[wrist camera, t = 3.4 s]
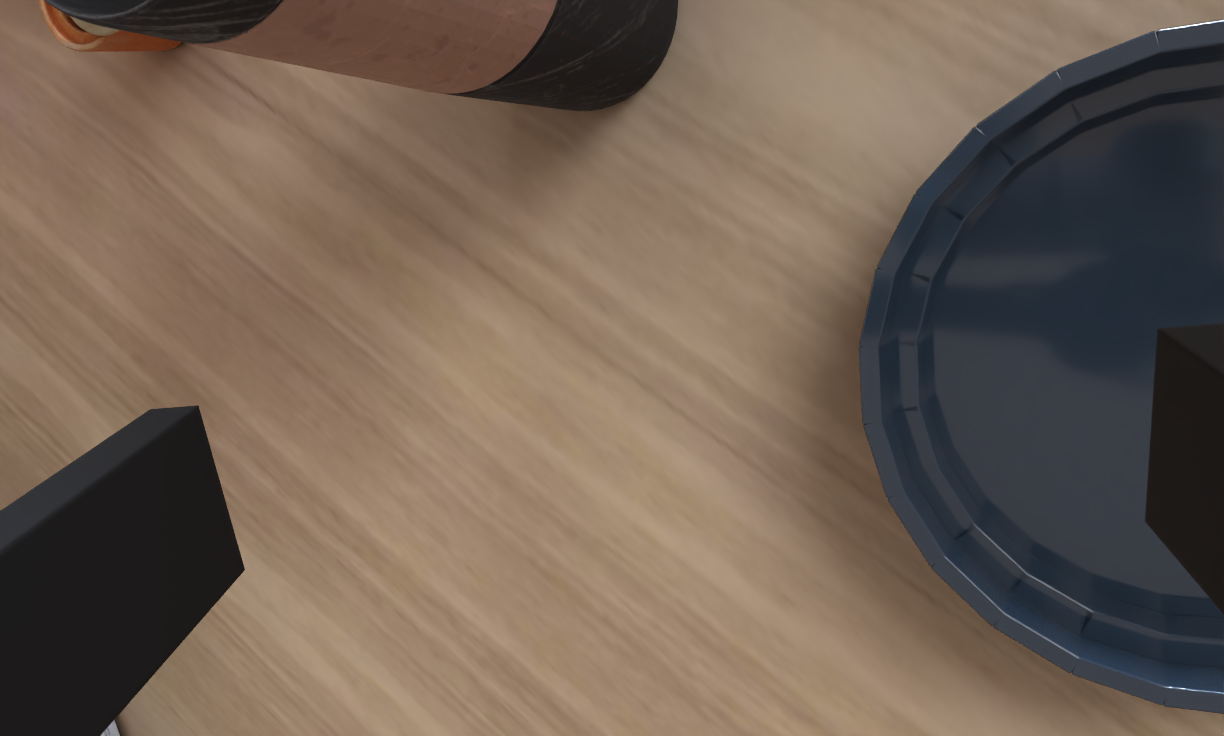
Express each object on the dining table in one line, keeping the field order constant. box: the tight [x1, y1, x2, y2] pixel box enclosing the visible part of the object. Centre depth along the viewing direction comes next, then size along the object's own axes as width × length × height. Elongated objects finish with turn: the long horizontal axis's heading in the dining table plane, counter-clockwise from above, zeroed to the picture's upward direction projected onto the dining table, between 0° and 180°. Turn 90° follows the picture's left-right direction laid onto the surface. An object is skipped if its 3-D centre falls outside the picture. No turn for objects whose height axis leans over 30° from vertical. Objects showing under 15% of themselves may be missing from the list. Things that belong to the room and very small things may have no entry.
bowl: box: [859, 20, 1224, 714], centre depth 27 cm, size 18×18×4 cm
